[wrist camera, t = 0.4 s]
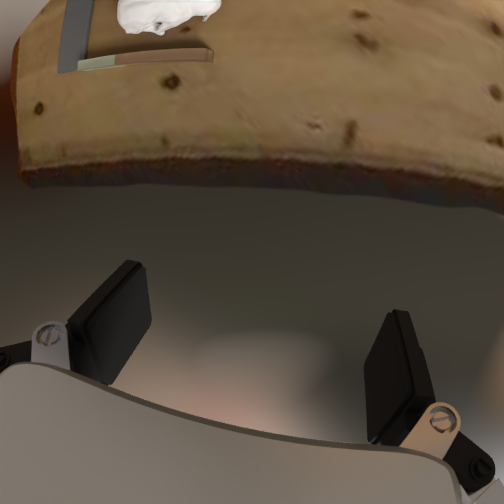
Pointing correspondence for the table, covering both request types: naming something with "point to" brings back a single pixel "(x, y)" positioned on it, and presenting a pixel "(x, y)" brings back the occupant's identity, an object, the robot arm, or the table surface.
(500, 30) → the table surface
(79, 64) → the parallel bars
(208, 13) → the white figurine
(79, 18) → the mat
